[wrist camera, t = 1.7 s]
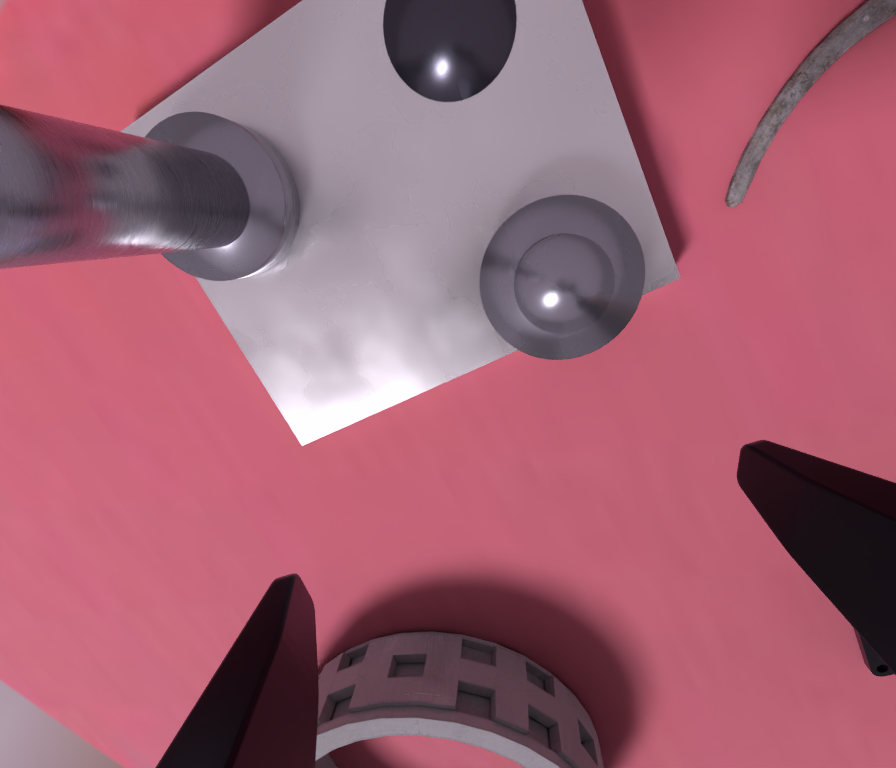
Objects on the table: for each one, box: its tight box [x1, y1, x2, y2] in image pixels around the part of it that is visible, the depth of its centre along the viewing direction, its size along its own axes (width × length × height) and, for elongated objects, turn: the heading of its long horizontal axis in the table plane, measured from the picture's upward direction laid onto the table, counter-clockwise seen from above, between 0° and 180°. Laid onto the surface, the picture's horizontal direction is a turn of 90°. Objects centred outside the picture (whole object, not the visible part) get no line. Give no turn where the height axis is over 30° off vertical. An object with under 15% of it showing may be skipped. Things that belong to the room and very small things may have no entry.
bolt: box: [0, 105, 300, 281], centre depth 12 cm, size 6×6×13 cm
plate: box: [121, 0, 680, 446], centre depth 18 cm, size 14×17×1 cm
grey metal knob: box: [479, 195, 645, 360], centre depth 17 cm, size 6×6×2 cm
